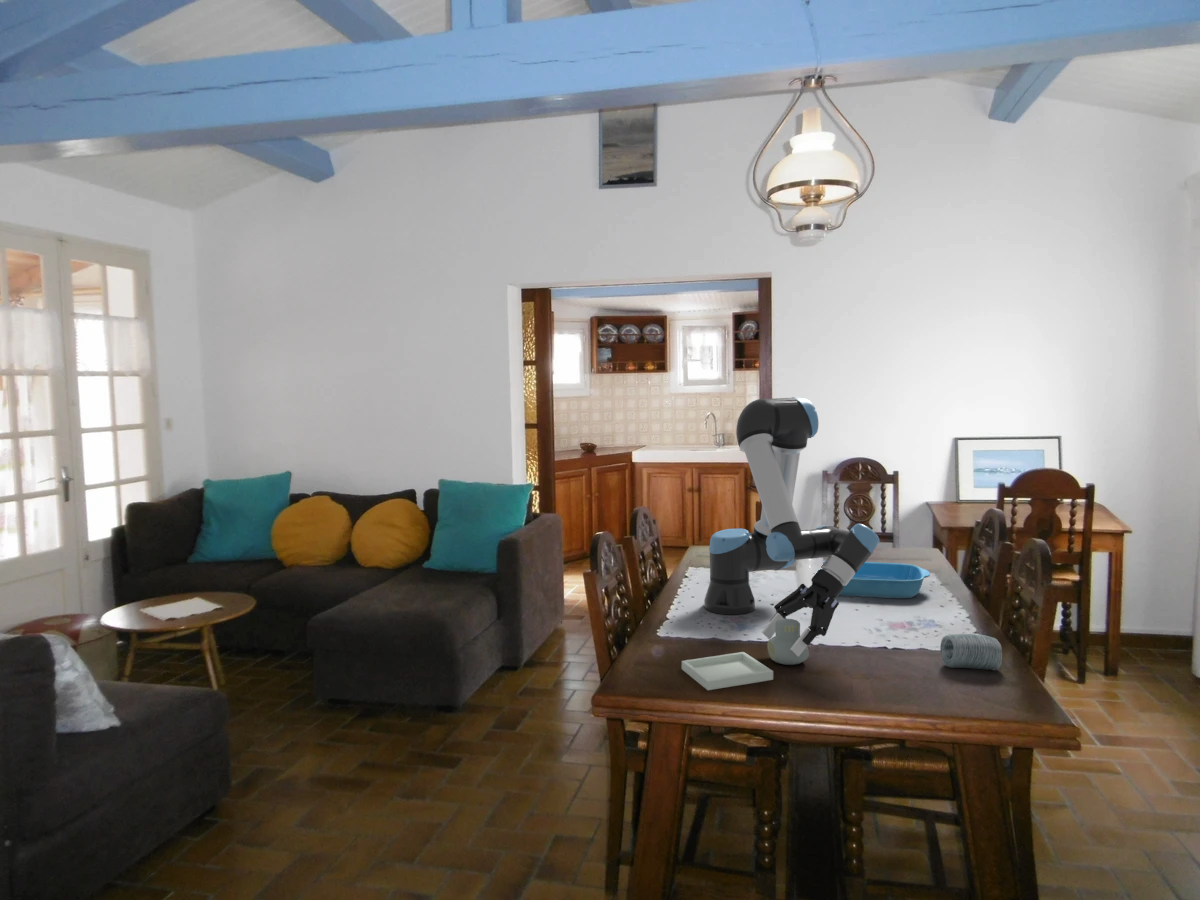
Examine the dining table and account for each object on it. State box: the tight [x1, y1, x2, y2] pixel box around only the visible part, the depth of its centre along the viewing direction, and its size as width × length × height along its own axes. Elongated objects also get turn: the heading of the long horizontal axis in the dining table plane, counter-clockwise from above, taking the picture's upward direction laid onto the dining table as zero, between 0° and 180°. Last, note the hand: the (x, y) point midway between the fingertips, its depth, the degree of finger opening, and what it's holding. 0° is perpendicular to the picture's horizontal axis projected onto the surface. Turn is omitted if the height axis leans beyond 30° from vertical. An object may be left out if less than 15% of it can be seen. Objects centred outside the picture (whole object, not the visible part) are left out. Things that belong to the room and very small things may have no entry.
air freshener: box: [766, 618, 810, 666], centre depth 204 cm, size 11×8×10 cm
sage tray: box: [681, 651, 774, 691], centre depth 196 cm, size 14×17×2 cm
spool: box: [940, 633, 1003, 671], centre depth 197 cm, size 14×10×10 cm
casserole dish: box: [822, 560, 931, 599], centre depth 265 cm, size 37×22×7 cm, turn 74°
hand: (779, 644), depth 203 cm, fingers open, 12 cm apart
